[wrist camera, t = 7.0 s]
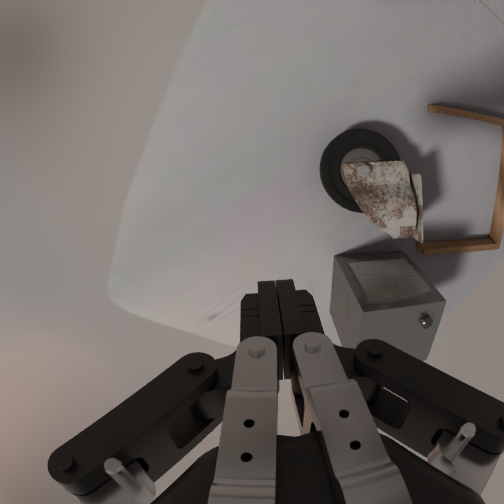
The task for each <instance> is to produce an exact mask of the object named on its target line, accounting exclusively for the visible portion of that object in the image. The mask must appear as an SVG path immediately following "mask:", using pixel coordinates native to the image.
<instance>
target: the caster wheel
mask: <svg viewBox="0 0 504 504" xmlns="http://www.w3.org/2000/svg"><path fill="white" fill-rule="evenodd" d="M320 177H321V181H322V184H323V187H324V188H325V190H326V192H327V193H328V195H329V196H330V197H331V198H332V199H333V200H334V201H335V202H336V203H337V204H339V205H340V206H342V207H343V208H346V209H348V210H350V211H354V212H358V213H362V214H363V215H364V216H365V217H367V218H368V219H369V220H371V221H372V222H373V223H374V224H375V225H376V226H378V227H379V228H380V229H381V230H383V231H384V232H386V233H387V234H389V235H390V236H391V237H392V238H393V239H397V238H409V237H413V238H414V239H416V240H417V241H419V242H420V243H422V244H423V198H422V180H421V175H420V174H413V173H409V171H408V168H407V166H406V164H405V162H404V161H400V158H399V156H398V153H397V151H396V149H395V148H394V147H393V145H392V144H391V143H390V142H389V141H388V140H387V139H386V138H385V137H383V136H382V135H380V134H378V133H376V132H373V131H370V130H366V129H354V130H349V131H346V132H344V133H341V134H340V135H338V136H337V137H336V138H334V139H333V140H332V141H331V142H330V143H329V144H328V146H327V147H326V149H325V150H324V152H323V155H322V157H321V162H320Z"/></svg>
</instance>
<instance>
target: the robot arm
mask: <svg viewBox="0 0 504 504" xmlns="http://www.w3.org/2000/svg"><path fill="white" fill-rule="evenodd" d="M283 371H284V379H291V384H292V392H291V393H292V394H291V395H292V400H293V404H294V408H295V412H296V416H297V420H298V425H299V429H300V434H301V436H298V437H292V436H284V435H277V433H278V432H277V431H278V430H277V428H278V427H277V426H278V422H277V421H278V392H279V380H283ZM384 387H385V388H387V389H388V390H390V391H392V392H393V393H395V394H397V395H398V396H400V397H402V398H404V399H405V400H407V401H408V402H407V401H405V400H403V399H401V398H400V397H397V396H396V395H394V394H393V393H391V392H389V391H387V390H386V389H384ZM221 422H222V428H221V435H220V442H219V446H217V447H215V448H213V449H211V450H210V451H208V452H206V453H205V454H203V455H202V456H201V457H199V458H198V459H197V460H196V461H195V462H194V463H193V464H192V465H191V466H190V467H189V468H188V469H187V470H186V471H185V472H184V473H183V474H182V475H181V476H180V477H179V478H178V479H177V480H176V481H175V482H173V483H172V484H171V485H170V486H169V487H168V488H167V489H166V490H165V491H164V492H163V493H162V494H160V496H158V497H157V498H156V499H155V500H154V501H153V502H151V501H152V500H153V498H154V496H155V493H156V487H155V484H154V482H155V481H156V480H158V479H159V478H160V477H161V476H162V475H163V474H165V473H166V472H167V471H168V470H169V469H171V468H172V467H173V466H174V465H175V464H176V463H177V462H179V461H180V460H181V459H182V458H183V457H184V456H185V455H186V454H188V453H189V452H190V451H191V450H192V449H193V448H194V447H195V446H196V445H197V444H199V443H200V442H201V441H202V440H203V439H204V438H205V437H206V436H207V435H208V434H209V433H210V432H212V431H213V429H215V428H216V426H218V425H219V424H220V423H221ZM377 428H379V429H380V430H382V431H383V432H385V433H387V434H388V435H390V436H392V437H393V438H395V439H396V440H398V441H400V442H401V443H403V444H405V445H406V446H408V447H410V448H411V449H413V450H415V451H416V452H418V453H420V454H421V455H423V456H425V457H427V459H428V462H426V461H425V460H423V459H421V458H420V457H418V456H417V455H415V454H414V453H412V452H410V451H409V450H407V449H406V448H404V447H403V446H401V445H400V444H398V443H397V442H395V441H394V440H392V439H391V438H389V437H387V436H385V435H382V434H380V433H379V432H378V430H377ZM503 452H504V402H502V401H499V400H497V399H495V398H493V397H492V396H489V395H488V394H486V393H484V392H482V391H479V390H478V389H475V388H474V387H472V386H469V385H468V384H466V383H463V382H462V381H460V380H458V379H456V378H454V377H452V376H450V375H448V374H446V373H444V372H442V371H440V370H438V369H436V368H434V367H432V366H431V365H429V364H427V363H425V362H423V361H421V360H419V359H417V358H415V357H413V356H411V355H409V354H407V353H406V352H404V351H402V350H400V349H398V348H396V347H394V346H392V345H390V344H388V343H386V342H384V341H382V340H378V339H367V340H364V341H362V342H360V343H359V344H358V345H357V347H356V349H354V348H345V347H340V346H337V345H334V344H333V343H332V341H331V340H330V339H329V338H328V337H327V336H326V335H325V334H324V331H323V327H322V324H321V321H320V318H319V314H318V312H317V308H316V305H315V302H314V299H313V296H312V295H311V294H310V293H309V292H308V291H307V290H295V286H294V282H293V279H287V280H276V287H275V281H259V282H258V293H253V294H246V295H245V296H244V297H243V299H242V300H241V320H240V343H239V345H238V346H237V350H236V351H235V352H234V353H232V354H230V355H229V356H227V357H223V358H220V359H216V360H214V358H213V357H212V356H210V355H208V354H206V353H201V352H196V353H191V354H188V355H185V356H184V357H182V358H181V359H179V360H178V361H177V362H175V363H174V364H173V365H171V366H170V367H169V368H168V369H166V370H165V371H164V372H162V373H161V374H160V375H158V376H157V377H156V378H154V379H153V380H152V381H151V382H149V383H148V384H146V385H145V386H144V387H142V388H141V389H140V390H138V391H137V392H136V393H134V394H133V395H132V396H130V397H129V398H128V399H126V400H125V401H124V402H122V403H121V404H119V405H118V406H117V407H115V408H114V409H113V410H111V411H110V412H108V413H107V414H106V415H104V416H103V417H102V418H100V419H99V420H97V421H96V422H94V423H93V424H92V425H90V426H89V427H88V428H86V429H85V430H83V431H82V432H80V433H79V434H78V435H76V436H75V437H74V438H72V439H70V440H69V441H68V442H66V443H65V444H63V445H62V446H60V447H59V448H57V449H56V450H55V451H54V452H53V453H52V454H51V455H50V458H49V460H48V471H49V473H50V475H51V476H52V478H53V479H54V480H56V481H57V482H58V483H59V484H60V485H62V486H63V487H64V488H65V490H66V491H67V492H69V493H70V494H71V495H73V496H74V497H75V498H77V499H78V500H79V501H80V502H81V503H82V504H149V503H150V502H151V503H150V504H485V502H484V501H483V499H482V498H481V496H480V495H481V493H482V491H483V490H484V488H485V486H486V484H487V482H488V480H489V478H490V476H491V474H492V472H493V470H494V468H495V466H496V463H497V461H498V459H499V457H500V455H501V454H502V453H503Z"/></svg>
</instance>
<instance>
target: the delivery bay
mask: <svg viewBox="0 0 504 504" xmlns="http://www.w3.org/2000/svg"><path fill="white" fill-rule="evenodd" d="M428 112H435V113H442V114H448V115H454V116H460V117H466V118H471V119H476V120H481V121H486V122H490V123H495V124H499V125H503V140H502V154H501V165H500V174H499V182H498V190H497V196H496V203H495V209H494V214H493V220H492V225H491V230H490V234H489V238H481V239H466V240H450V241H435V242H423V244H422V243H420V242H419V243H417V247H416V249H417V250H418V251H419V252H420V253H421V254H422V255H423V256H425V255H437V254H449V253H460V252H471V251H482V250H493V249H499V247H500V243H501V238H502V234H503V230H504V119H501V118H497V117H493V116H489V115H484V114H480V113H475V112H470V111H465V110H460V109H455V108H449V107H444V106H437V105H428Z"/></svg>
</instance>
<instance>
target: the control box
mask: <svg viewBox="0 0 504 504" xmlns="http://www.w3.org/2000/svg"><path fill="white" fill-rule="evenodd" d="M445 304H446V300H445V298H444V297H443V296H442V295H441V294H440V293H439V291H438V290H437V289H436V288H435V287H434V285H433V284H432V283H431V282H430V281H429V280H428V279H427V277H426V276H425V275H424V274H423V273H422V272H421V271H420V269H419V268H418V267H417V266H416V265H415V264H414V263H413V262H412V261H411V259H410V258H409V257H408V256H407V255H406V254H405V253H404V252H403V251H394V252H380V253H366V254H351V255H336V256H334V265H333V279H332V292H331V303H330V314H331V316H332V319H333V322H334V325H335V327H336V330H337V333H338V336H339V339H340V341H341V344H342V347H345V348H354V349H356V347H357V345H358V344H359V343H360V342H362V341H364V340H367V339H378V340H382V341H384V342H386V343H388V344H390V345H392V346H394V347H396V348H398V349H400V350H402V351H404V352H406V353H407V354H409V355H411V356H413V357H415V358H417V359H419V360H421V361H424V360H426V359H427V356H428V354H429V351H430V349H431V346H432V343H433V340H434V338H435V335H436V332H437V329H438V326H439V323H440V320H441V317H442V314H443V310H444V307H445Z"/></svg>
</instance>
